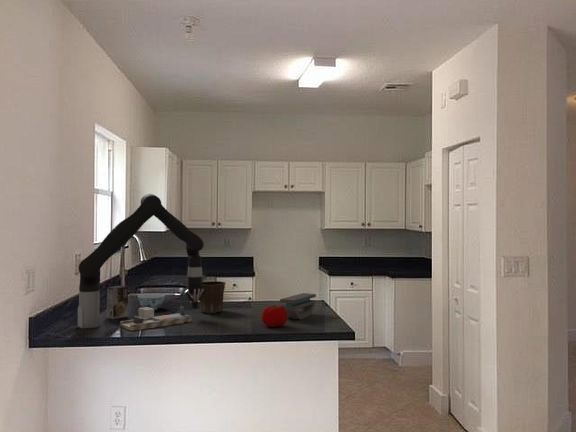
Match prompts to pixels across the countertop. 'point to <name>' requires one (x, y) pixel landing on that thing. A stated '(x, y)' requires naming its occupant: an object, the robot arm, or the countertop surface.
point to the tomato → (274, 316)
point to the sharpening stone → (299, 305)
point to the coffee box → (117, 302)
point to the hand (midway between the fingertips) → (194, 308)
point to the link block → (146, 312)
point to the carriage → (172, 316)
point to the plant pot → (212, 297)
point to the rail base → (150, 323)
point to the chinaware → (151, 300)
